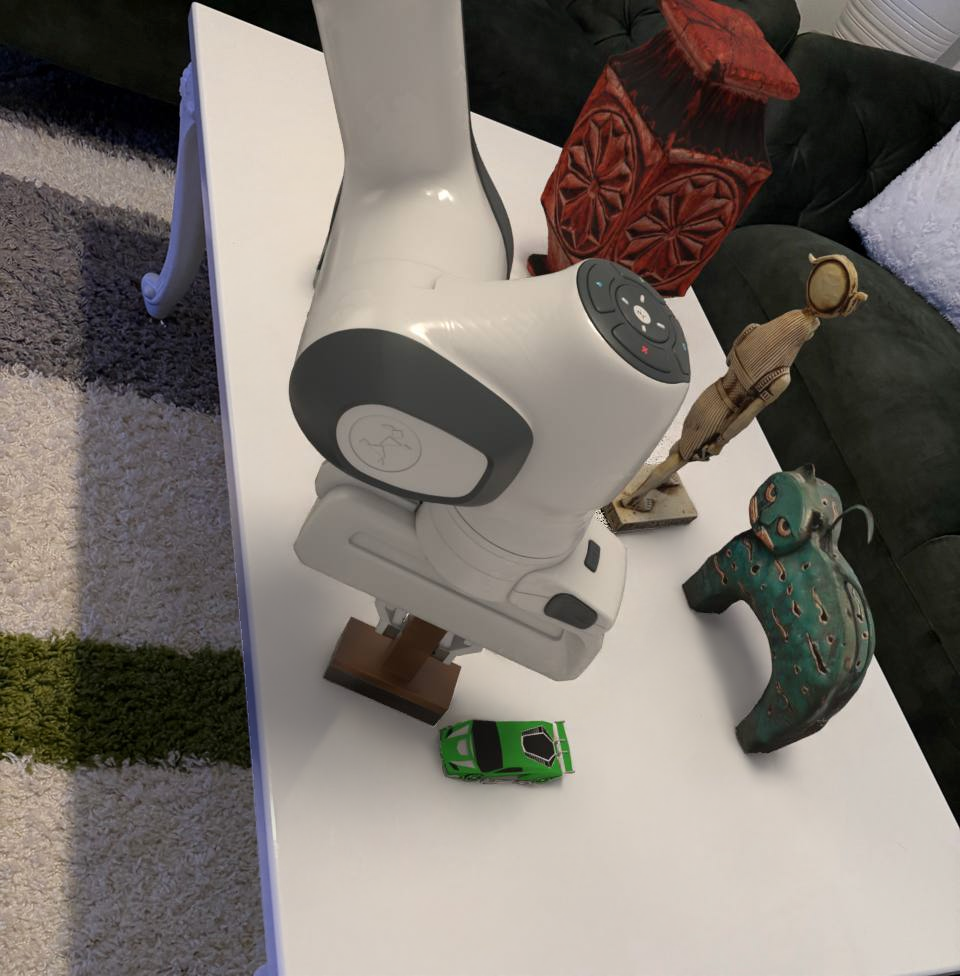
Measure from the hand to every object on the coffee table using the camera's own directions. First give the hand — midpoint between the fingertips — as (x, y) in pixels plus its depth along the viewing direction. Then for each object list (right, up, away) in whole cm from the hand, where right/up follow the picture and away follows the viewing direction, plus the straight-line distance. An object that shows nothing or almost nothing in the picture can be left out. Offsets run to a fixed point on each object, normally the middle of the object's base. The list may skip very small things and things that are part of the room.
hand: (414, 641), depth 64 cm
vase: (+16, +39, +41) cm, 59 cm away
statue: (+20, +13, +27) cm, 36 cm away
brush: (-2, -3, +5) cm, 6 cm away
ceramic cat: (+27, -2, +21) cm, 34 cm away
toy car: (+6, -9, +6) cm, 12 cm away
